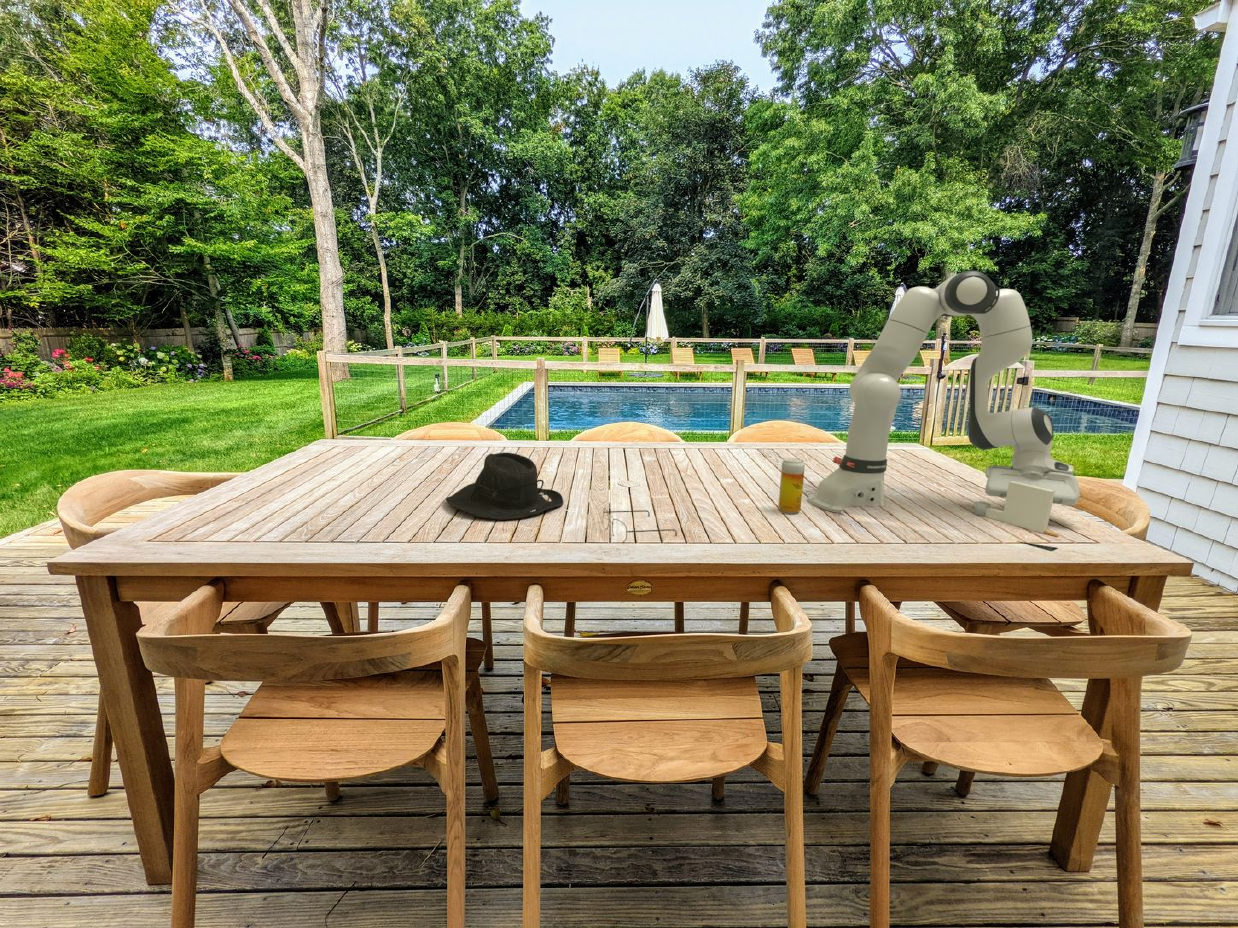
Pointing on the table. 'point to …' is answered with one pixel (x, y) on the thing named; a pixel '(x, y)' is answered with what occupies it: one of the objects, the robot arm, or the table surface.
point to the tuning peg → (1022, 507)
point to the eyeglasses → (626, 527)
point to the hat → (505, 490)
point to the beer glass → (791, 485)
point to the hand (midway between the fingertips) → (1029, 513)
